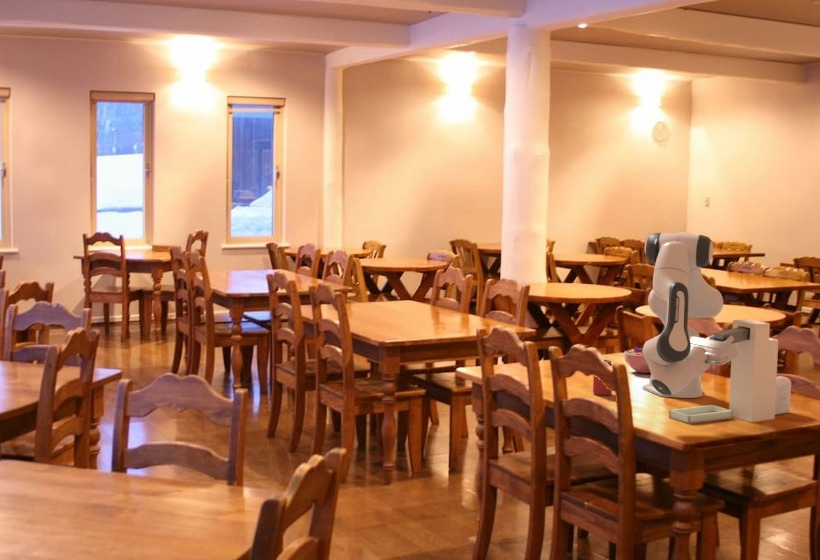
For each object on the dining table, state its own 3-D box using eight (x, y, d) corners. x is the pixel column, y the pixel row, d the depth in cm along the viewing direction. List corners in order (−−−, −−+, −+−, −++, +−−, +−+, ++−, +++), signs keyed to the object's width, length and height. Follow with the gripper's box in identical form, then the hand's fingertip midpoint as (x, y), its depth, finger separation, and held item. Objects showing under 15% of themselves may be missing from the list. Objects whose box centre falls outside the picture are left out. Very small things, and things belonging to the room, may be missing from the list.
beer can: (603, 396, 370) (604, 363, 369) (589, 393, 375) (590, 360, 374) (615, 394, 374) (616, 361, 373) (601, 391, 379) (602, 358, 378)
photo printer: (780, 410, 352) (782, 374, 351) (791, 412, 349) (793, 376, 347) (760, 413, 346) (762, 377, 345) (771, 416, 343) (773, 379, 342)
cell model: (616, 369, 423) (617, 341, 422) (663, 368, 427) (664, 340, 425) (632, 377, 406) (633, 348, 405) (681, 376, 410) (682, 347, 409)
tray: (668, 417, 340) (669, 410, 339) (712, 412, 348) (712, 404, 347) (688, 423, 331) (689, 416, 331) (732, 418, 339) (733, 410, 339)
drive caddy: (714, 343, 334) (713, 333, 333) (745, 336, 339) (744, 325, 339) (723, 345, 330) (722, 335, 329) (754, 338, 336) (753, 327, 335)
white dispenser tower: (728, 415, 343) (732, 320, 340) (751, 412, 348) (756, 318, 345) (751, 422, 335) (755, 324, 331) (774, 419, 339) (779, 322, 336)
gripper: (715, 357, 318) (746, 332, 323) (670, 346, 336) (700, 323, 341) (722, 374, 320) (753, 349, 324) (677, 363, 338) (707, 339, 343)
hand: (725, 336), depth 333 cm, fingers closed on drive caddy, 4 cm apart
